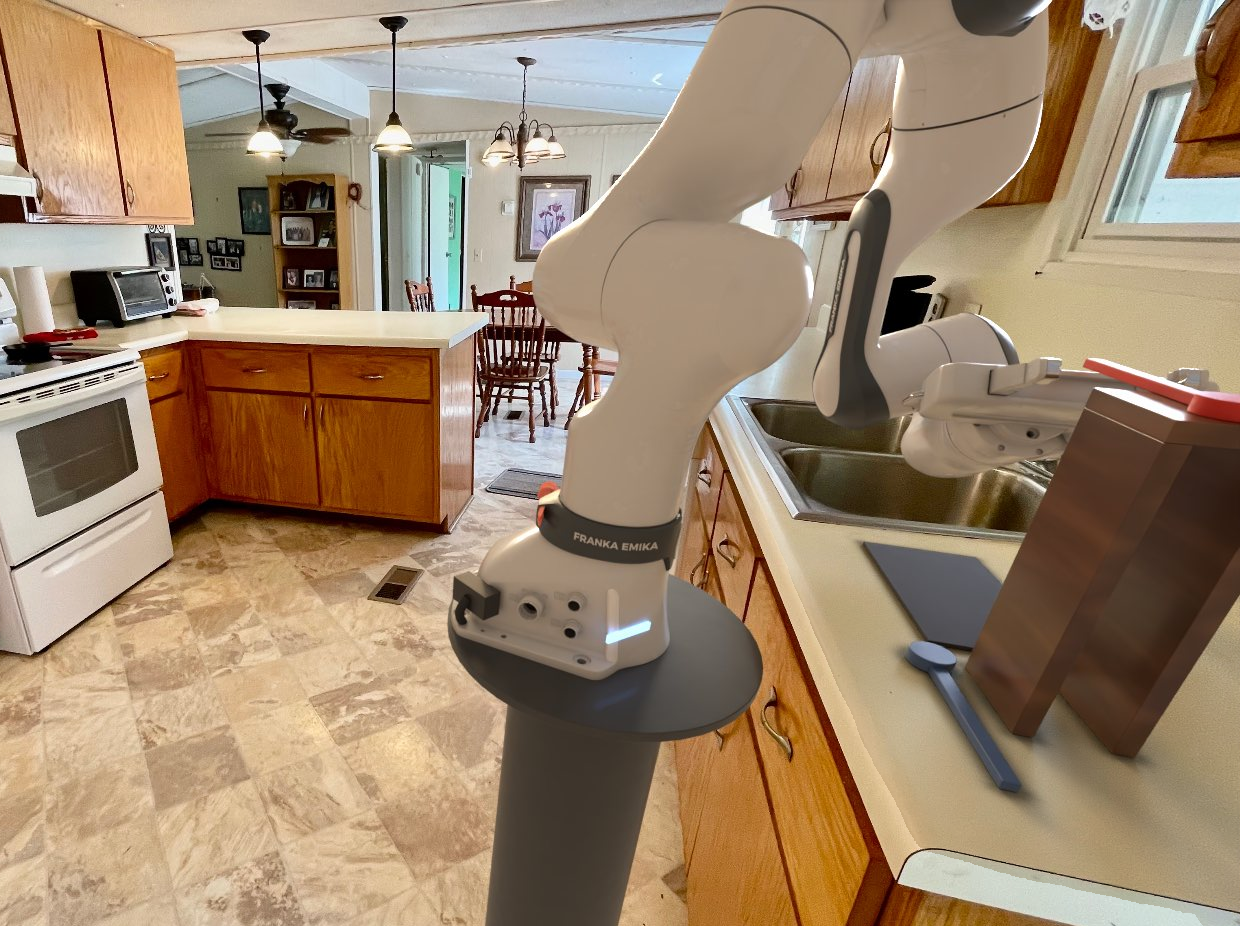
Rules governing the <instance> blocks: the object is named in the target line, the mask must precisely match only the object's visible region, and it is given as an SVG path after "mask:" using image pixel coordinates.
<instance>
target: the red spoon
mask: <svg viewBox="0 0 1240 926" xmlns="http://www.w3.org/2000/svg"><path fill="white" fill-rule="evenodd" d="M1082 368H1083V369H1086V370H1089V371H1091V372H1095V373H1100V374H1103V375H1106V376H1109V377H1111V378H1114V379H1117V380H1120V381H1123V382H1125V383H1128V384H1131V385H1134V386H1136V387H1139V388H1142V389H1145V390H1147V391H1150V392H1153V393H1156V394H1159V395H1161V396H1164V397H1167V398H1170V399H1172V400H1175V401H1178V402H1181V403H1183V404H1186V405H1189V406H1188V408H1187V411H1189V412H1190V413H1193V414H1196V415H1199V416H1203V417H1208V418H1212V419H1217V420H1223V421H1229V422H1237V423H1240V394H1238V393H1233V392H1232V393H1231V392H1223V391H1220V392H1211V391H1199V390H1195V389H1192V388H1189V387H1186V386H1183V385H1180V384H1177V383H1174V382H1171V381H1168V380H1165V379H1162V378H1163V377H1161V378H1159V377H1160V376H1159V377H1158V376H1155V375H1152V374H1150V373H1146V372H1143V371H1140V370H1137V369H1134V368H1131V367H1129V366H1125V365H1121V364H1118V363H1116V362H1113V361H1110V360H1107V359H1103V358H1094V357H1093V358H1091V357H1087V358H1085V360H1084V363H1083V365H1082Z"/></svg>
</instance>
